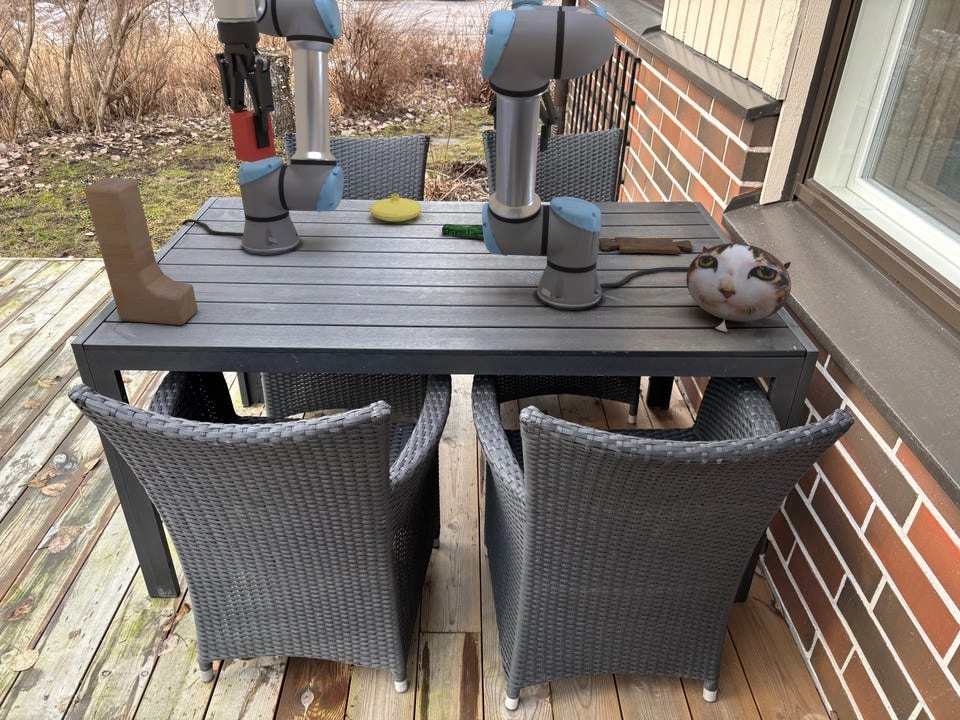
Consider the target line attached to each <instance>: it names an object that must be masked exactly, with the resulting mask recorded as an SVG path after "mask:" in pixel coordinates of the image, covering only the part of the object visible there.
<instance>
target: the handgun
mask: <svg viewBox="0 0 960 720" xmlns="http://www.w3.org/2000/svg"><path fill="white" fill-rule="evenodd" d="M441 235H446V236H454V237H462V238H469V239H470V238H471V239H474V240H479V241H483V242H484V236H483V225H479V224H472V225H459V224H453V223H445V224H443V226H442V227H441Z"/></svg>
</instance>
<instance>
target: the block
mask: <svg viewBox="0 0 960 720" xmlns="http://www.w3.org/2000/svg"><path fill="white" fill-rule="evenodd" d="M252 113H255V110H254V109H250V110H249V109H248V111H244V112H239V113H234V112H233V113H230V114H229V120H230V128H231V134H232V140H233V141H232V142H233V146H234V147H233V148H234V154H235V159H237V160H240V161H245V162H255V161H259V160H263V159H267V158H271V157H277V154H276V147H275V139H274V131H273V123H272V116H271V112H269V113H268V115H267V116H268V124H269V131H268V133H269V141H270V147H266V148H262V149H258V148H257V142H256V135H255V128H254V121H253V114H252Z"/></svg>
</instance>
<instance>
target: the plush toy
mask: <svg viewBox="0 0 960 720" xmlns="http://www.w3.org/2000/svg"><path fill="white" fill-rule="evenodd" d="M791 263H792V261H788V262H785V263H782V261H781V260H779V258H778V257H776V256H775V255H773V254H772V253H770V252H768V250H765V249H763V248H760V247H758V246H754V245H751V244H746V243H739V242H738V243H735V242H734V243H733V242H732V243H731V242H730V243H729V242H728V243H722V244H718V245H714V246H711V247H709V248H707V247H706V246H705V245H703V246H702V251H701V253H699V254H698V255H697V256H696V257H695V258H694V259H693V260H692V261H691V263H690V264H689V266H688V267H689V268H688V271H687V272H686V279H685V280H686V281H685V283H686V287H687V290H688V292H689V295H690V296H691V298H692V300H693V301H694V302H695V304H697V305H698V306H699V307H700V308H701V309H702V310H704V311H705V312H706V313H708V314H710V315H712V316H714V317H717V318H719V319H722V322H721V323H720V324H719V325H718V326H716V327H715V329H716V330H718V331H722V332H728V329H727V326H726V320H727V321H730V322H737V323H738V322H740V323H747V322H756V321H761V320H765V319H767V318H770V317H771V316H772V315H774V314H776V313H777V312H779V311H780V310H782V308H783V307H784V306H785V305H786V303H787V302H788V300H789V298H790V295H791V292H792V281H791V280H792V279H791V276H790V273H789V271H788V269H789V268H790V266H791Z"/></svg>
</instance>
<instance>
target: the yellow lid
mask: <svg viewBox="0 0 960 720" xmlns="http://www.w3.org/2000/svg"><path fill="white" fill-rule="evenodd" d="M399 196H400V195H399V194H398V193H392V194H391V195H390V197H389V198H383V199H379V200H376V201H374V202H373V203H372V204H371V205H370V206H369V212H370V214H371V216H373V217H374V218H375V219H376V218H377V219H379V220H381V221H384V222H392V223H394V222H395V223H396V222H397V223H399V222H405V221H409V220H411V219H413V218H416V217H417V216H419V215H420V214H421V212H422V205H421V204H420V203H419V202H418V201H416V200H414V199H411V198H405V197H399Z"/></svg>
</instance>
